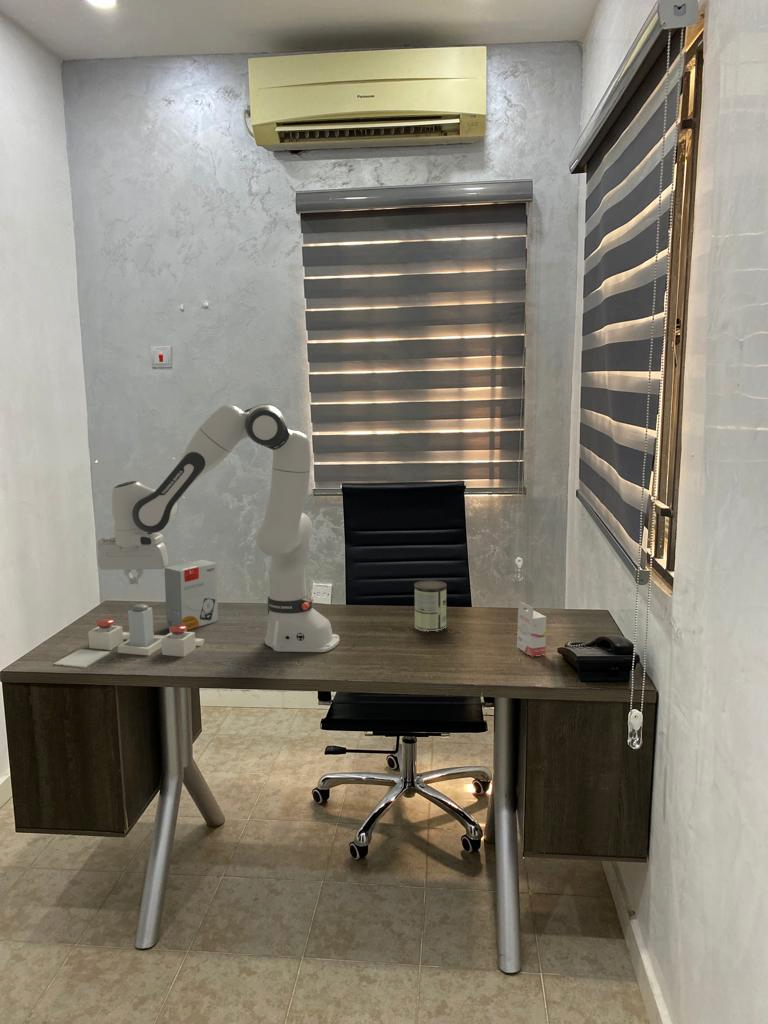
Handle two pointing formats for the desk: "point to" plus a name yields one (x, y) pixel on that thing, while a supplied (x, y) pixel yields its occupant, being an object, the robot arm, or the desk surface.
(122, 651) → the socket
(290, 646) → the robot arm
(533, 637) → the ink cartridge box
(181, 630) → the plunger
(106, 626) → the plunger
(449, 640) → the desk surface
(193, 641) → the tower
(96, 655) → the pad
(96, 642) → the tower
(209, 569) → the hard drive box
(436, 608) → the coffee can
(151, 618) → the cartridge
